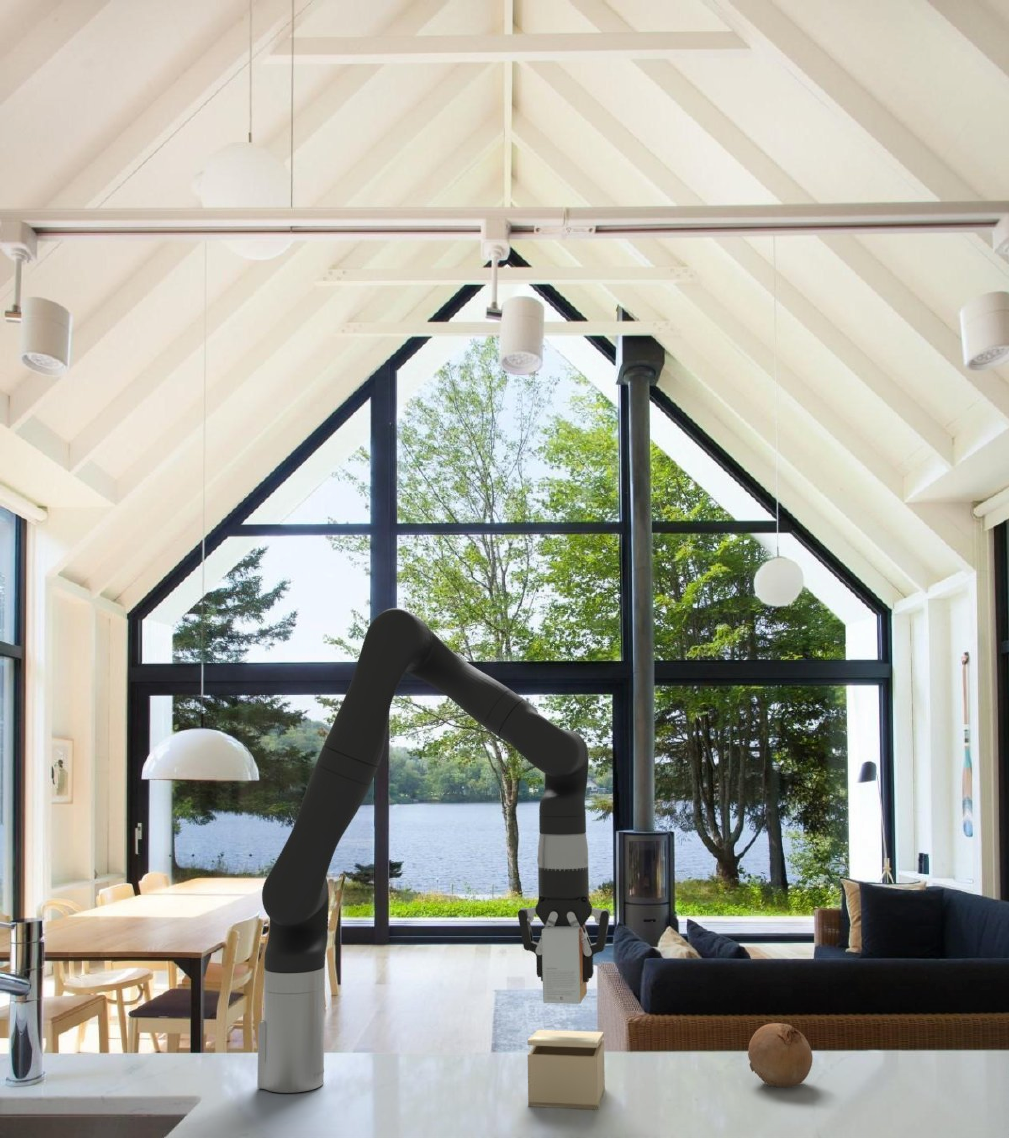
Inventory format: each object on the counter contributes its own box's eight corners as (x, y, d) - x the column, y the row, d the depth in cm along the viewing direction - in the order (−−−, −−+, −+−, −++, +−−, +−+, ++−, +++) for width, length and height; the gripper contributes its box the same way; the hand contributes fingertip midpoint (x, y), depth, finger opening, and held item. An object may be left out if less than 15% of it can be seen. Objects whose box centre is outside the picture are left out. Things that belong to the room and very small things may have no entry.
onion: (804, 1111, 176) (823, 1055, 174) (741, 1092, 177) (760, 1036, 175) (799, 1070, 185) (817, 1016, 183) (739, 1052, 186) (757, 998, 184)
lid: (527, 1045, 171) (527, 1039, 171) (537, 1034, 181) (537, 1029, 181) (596, 1047, 169) (596, 1042, 170) (603, 1037, 179) (603, 1031, 179)
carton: (528, 1106, 170) (527, 1055, 171) (538, 1086, 180) (538, 1037, 181) (598, 1109, 168) (597, 1057, 169) (604, 1088, 178) (603, 1039, 179)
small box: (580, 1005, 172) (579, 929, 173) (542, 1004, 173) (541, 929, 174) (587, 993, 179) (586, 921, 181) (551, 992, 180) (549, 920, 182)
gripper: (613, 861, 181) (615, 977, 179) (519, 861, 184) (521, 974, 181) (608, 867, 174) (611, 987, 171) (511, 866, 176) (512, 985, 174)
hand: (565, 980), depth 176 cm, fingers closed on small box, 5 cm apart
